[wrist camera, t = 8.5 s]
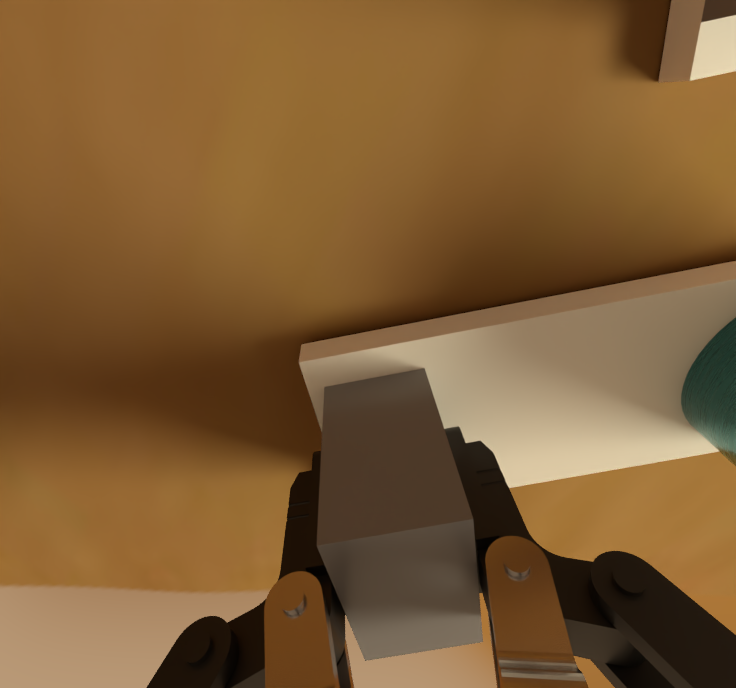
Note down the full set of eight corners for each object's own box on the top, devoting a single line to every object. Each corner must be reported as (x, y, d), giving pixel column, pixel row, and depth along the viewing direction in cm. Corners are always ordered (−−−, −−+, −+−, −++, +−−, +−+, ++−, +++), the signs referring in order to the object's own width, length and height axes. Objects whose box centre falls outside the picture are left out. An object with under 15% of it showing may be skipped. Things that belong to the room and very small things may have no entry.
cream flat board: (348, 493, 16) (353, 679, 11) (301, 344, 12) (275, 517, 7) (818, 410, 15) (1063, 568, 10) (914, 226, 12) (1370, 326, 6)
